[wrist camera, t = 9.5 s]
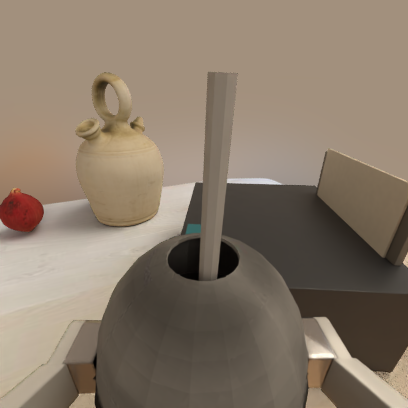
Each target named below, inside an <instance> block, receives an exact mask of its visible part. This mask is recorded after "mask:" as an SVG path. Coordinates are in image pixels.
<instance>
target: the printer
mask: <svg viewBox="0 0 408 408" xmlns="http://www.w3.org/2000/svg"><path fill="white" fill-rule="evenodd" d="M202 194H203V183H195V187H194V190H193V194H192V198H191V201H190V205H189V208H188V212H187V215H186V219H185V222H184V226H183V229H182V233H181V235H186V234H191V233H201V217H202ZM221 235H224V236H227V237H230V238H233V239H236V240H239V241H241V242H243V243H245V244H246V245H248V246H250V247H251V248H253V249H254V250H256V251H257V252H259V253H260V254H261V255H262V256H263V257H264V258H265V259H266V260H267V261H268V262H269V263H270V264H271V265H272V266H273V267H274V268H275V269H276V270H277V271H278V272H279V274H280V275H281V276H282V278H283V279H284V281H285V283H286V285H287V287H288V289H289V291H290V292H291V294H292V296H293V298H294V300H295V302H296V304H297V306H298V308H299V311H300V315H301V317H326V318H327V319H329V321H330V323H331V324H332V326H333V328H334V329H335V331H336V333H337V334H338V336H339V337H340V339H341V341H342V342H343V344H344V346H345V347H346V349H347V351H348V352H349V354H350V355H351V357H352V358H356V359H358V360H359V361H360V362H361V363H363V364H364V365H365V366H367V367H368V368H369V369H370V370H373V371H388V372H392V371H393V369H394V368H395V366H396V365H397V363H398V361H399V360H400V358H401V356H402V355H403V353H404V352H405V350H406V348H407V347H408V268H407V267H406V266H405V265H404V264H403V261H404V259H405V257H406V255H407V253H408V181H405V180H403V179H401V178H398V177H396V176H394V175H391V174H389V173H386V172H384V171H382V170H380V169H377V168H375V167H372V166H370V165H368V164H365V163H363V162H361V161H358V160H356V159H354V158H351V157H349V156H347V155H344V154H342V153H340V152H337V151H335V150H333V149H330V148H328V151H327V152H326V153H325V157H324V162H323V166H322V170H321V174H320V179H319V183H318V187H316V186H306V185H269V184H233V183H227V184H226V194H225V204H224V214H223V224H222V234H221Z"/></svg>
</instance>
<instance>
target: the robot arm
mask: <svg viewBox="0 0 408 408" xmlns="http://www.w3.org/2000/svg"><path fill="white" fill-rule="evenodd" d="M301 318H302V323H303V328H304V334H305V340H306V346H307V352H308V370H307V378H308V388H321V390H322V391H323V392H324V393H325V394H326V396H327V397H328V398H329V399H330V400H331V401H332V402H333V404H334V405H335V406H336V407H337V408H408V399H407V398H406V397H404V396H403V395H402V394H400V393H399V392H398V391H397V390H395V389H394V388H393V387H392V386H390V385H389V384H388V383H387V382H385V381H384V380H383V379H382V378H380V377H379V376H378V375H377V374H375V373H374V372H373V371H372V370H370V369H369V368H368V367H367V366H365V365H364V364H363V363H361V362H360V361H359V360H358V359H356V358H352V357H351V355H350V354H349V352H348V351H347V349H346V347H345V346H344V344H343V342H342V341H341V339H340V337H339V336H338V334H337V333H336V331H335V329H334V328H333V326H332V324H331V323H330V321H329V319H327V318H326V317H301ZM101 321H102V320H73V321H72V322H71V323H70V324H69V326H68V327H67V329H66V331H65V333H64V334H63V336H62V338H61V340H60V341H59V343H58V345H57V347H56V348H55V350H54V352H53V353H52V355H51V357H50V359H49V360H48V362H47V364H42V365H41V366H40V367H38V368H37V369H36V370H35V371H34V372H32V373H31V374H30V375H29V376H28V377H26V378H25V379H24V380H23V381H22V382H20V383H19V384H18V385H17V386H15V387H14V388H13V389H12V390H11V391H9V392H8V393H7V394H6V395H5V396H3V397H2V398H1V399H0V408H69V406H70V405H71V404H72V403H73V402H74V400H75V399H76V398H77V397H78V396H79V395H78V394H84V393H95V387H96V364H97V342H98V331H99V328H100V324H101Z"/></svg>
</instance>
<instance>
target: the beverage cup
mask: <svg viewBox="0 0 408 408" xmlns="http://www.w3.org/2000/svg"><path fill="white" fill-rule="evenodd" d="M237 74H238V73H222V72H208V79H207V80H208V81H207V104H206V126H205V148H204V149H205V150H204V172H203V194H202V217H201V233H191V234H186V235H181V236H176V237H173V238H171V239H169V240H166V241H164V242H161V243H159V244H158V245H156V246H155V247H154V248H152V249H151V250H149V251H148V252H146V253H145V254H144V255H142V256H141V257H139V258H138V259H137V260H136V262H135V263H134V264H133V265H132V266H131V267H130V269H129V270H128V271H127V272H126V274H125V275H124V276H123V277H122V278H121V280H120V281H119V282H118V284H117V285H116V287H115V289H114V291H113V293H112V295H111V298H110V300H109V303H108V305H107V308H106V310H105V313H104V315H103V318H102V321H101V324H100V328H99V331H98V342H97V364H96V387H95V406H96V408H305V406H306V400H307V394H308V389H309V388H308V378H307V370H308V352H307V346H306V340H305V334H304V328H303V323H302V318H301V315H300V311H299V308H298V306H297V304H296V302H295V300H294V298H293V296H292V294H291V292H290V291H289V289H288V287H287V285H286V283H285V281H284V279H283V278H282V276H281V275H280V274H279V272H278V271H277V270H276V269H275V268H274V267H273V266H272V265H271V264H270V263H269V262H268V261H267V260H266V259H265V258H264V257H263V256H262V255H261V254H260V253H259V252H257V251H256V250H254V249H253V248H251V247H250V246H248V245H246V244H245V243H243V242H241V241H239V240H236V239H233V238H230V237H227V236H224V235H221V234H222V224H223V214H224V204H225V194H226V184H227V174H228V164H229V155H230V145H231V135H232V125H233V115H234V105H235V94H236V85H237V76H238V75H237Z"/></svg>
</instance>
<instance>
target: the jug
mask: <svg viewBox="0 0 408 408" xmlns="http://www.w3.org/2000/svg"><path fill="white" fill-rule="evenodd" d="M107 84H110V85H111V86H112V87H113V88H114V90H115V92H116V94H117V96H118V100H119V111H118V114H117V115H116V116H115V115H112V114H111V113H110V111H109V110H108V108H107V105H106V102H105V89H106V86H107ZM92 101H93V104H94V107H95V110H96V111H97V113H98V115H99V116H100V117H101V118H102V119H103V120H104V121H105V125H104V127H103V128H102V129H100V127H99V125H100V124H99V121H98V120H97V119H93V118H91V119H87V120H85V121H83V122H81V123H80V124H79V125H78V126H77V127H76V130H75V132H76V135H78V136H79V137H82V138H84V139H86V140H85V141H84V142H83V143H82V144H81V145H80V147H79V150H78V153H77V157H76V171H77V176H78V179H79V182H80V184H81V187H82V189H83V191H84V193H85V195H86V197H87V199H88V201H89V203H90V206H91V208H92V210H93V212H94V214H95V215H96V218H97V220H98V221H99V222H101V223H103V224H106V225H109V226H130V225H135V224H139V223H142V222H145V221H147V220H149V219H151V218H152V217H153V216H154V215H155V214H156V213H157V211H158V207H159V204H160V198H161V191H162V183H163V175H164V166H163V160H162V157H161V154H160V152H159V150H158V148H157V146H156V145H155V143H154V142H153V141H152V140H150V139H149V138H148V137H146V136H145V135H143V134H142V132H143V131H144V130H145V127H144V126H143V119H142V118H141V117H137V118H136V119H135V120H134V121H133V122H131V123H130V126H131V127H130V126H129V125H128V122H127V120H128V118H129V117H130V114H131V111H132V99H131V95H130V92H129V90H128V88H127V86H126V84H125V83H124V82H123V81H122V80H121V79H120V78H119V77H118V76H116V75H114V74H112V73H106V72H104V73H102V74H100V75H98V76H97V77H96V79H95V81H94V83H93V86H92Z"/></svg>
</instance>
